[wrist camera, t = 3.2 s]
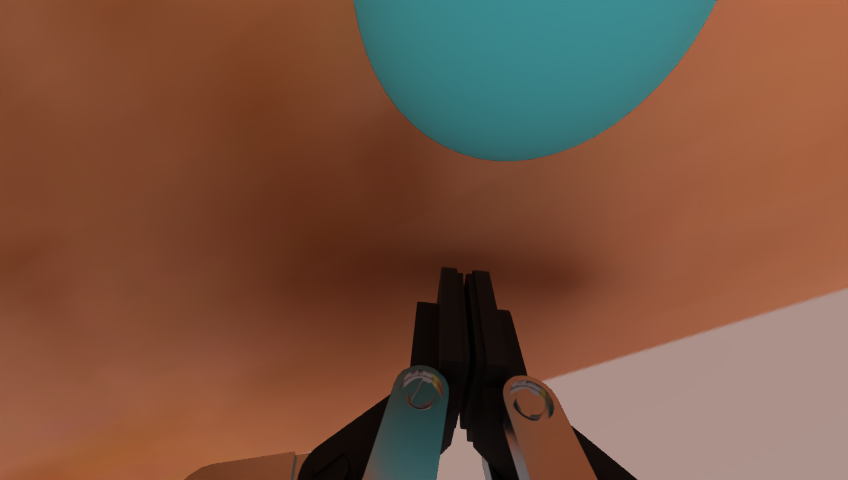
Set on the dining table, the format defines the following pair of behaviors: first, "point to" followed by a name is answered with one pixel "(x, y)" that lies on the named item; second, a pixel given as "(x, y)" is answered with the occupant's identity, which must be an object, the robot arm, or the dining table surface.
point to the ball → (523, 66)
